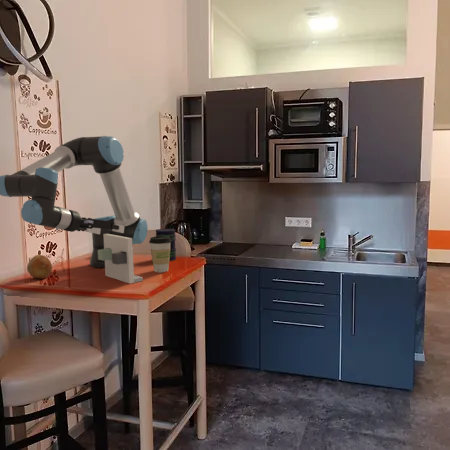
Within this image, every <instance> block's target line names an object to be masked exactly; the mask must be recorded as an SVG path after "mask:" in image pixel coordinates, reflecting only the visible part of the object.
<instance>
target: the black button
mask: <svg viewBox="0 0 450 450" xmlns="http://www.w3.org/2000/svg"><path fill="white" fill-rule="evenodd" d="M112 263H113V264H117V265H119V264H124V263H127V253H126V252H118V253H112Z"/></svg>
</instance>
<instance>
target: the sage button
mask: <svg viewBox="0 0 450 450" xmlns="http://www.w3.org/2000/svg"><path fill="white" fill-rule="evenodd" d="M98 259H99V260H102V261H103V260H110V259H112V249H111V248H108V249H101V250H98Z"/></svg>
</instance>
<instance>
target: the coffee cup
mask: <svg viewBox="0 0 450 450" xmlns="http://www.w3.org/2000/svg"><path fill="white" fill-rule="evenodd" d="M170 242H171V240H170V237H168V236H157V237H156V236H151V237H150V238H149V241H148V243H149V245H150V246H149V247H150V254H151V260H152V264H153V271H154V272H155V273H166V271H167V272H169V269H170V267H169V266H170V265H169V264H170V261H169V260H170Z"/></svg>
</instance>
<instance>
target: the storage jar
mask: <svg viewBox="0 0 450 450" xmlns="http://www.w3.org/2000/svg"><path fill="white" fill-rule="evenodd" d="M157 236H168V237H170V240H171V242H170V260H169V262H172V261H176V260H177V248H176V228H158V229H155V237H157Z"/></svg>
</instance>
